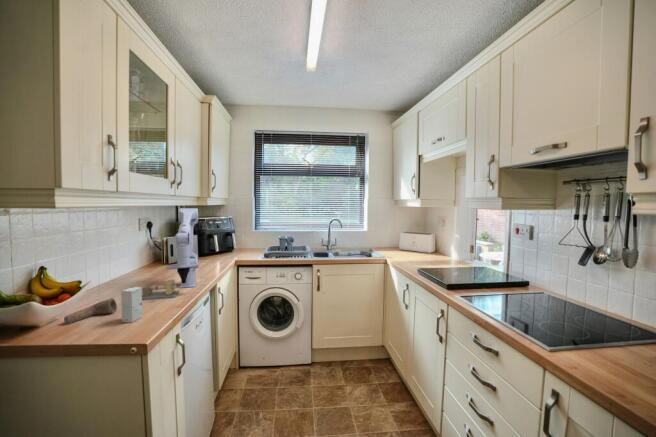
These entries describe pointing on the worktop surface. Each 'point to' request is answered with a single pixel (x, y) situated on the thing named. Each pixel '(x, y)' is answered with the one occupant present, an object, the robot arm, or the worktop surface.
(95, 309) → the pipe
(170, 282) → the collar
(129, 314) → the skincare box
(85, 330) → the worktop surface
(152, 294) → the rail
